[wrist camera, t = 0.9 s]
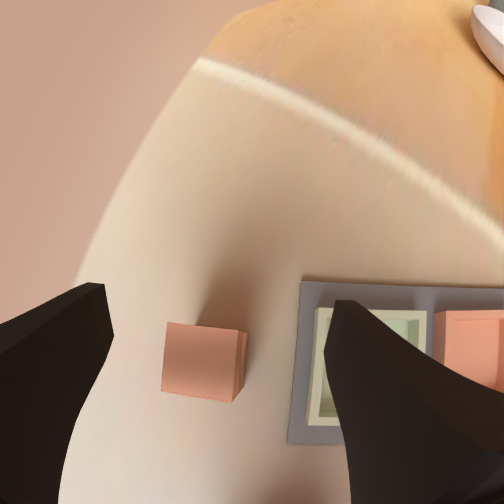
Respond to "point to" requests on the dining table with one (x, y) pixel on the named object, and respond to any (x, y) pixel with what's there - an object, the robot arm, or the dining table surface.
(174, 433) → the dining table surface
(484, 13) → the serving bowl
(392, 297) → the sorting board
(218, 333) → the terracotta block
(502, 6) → the grey cup
